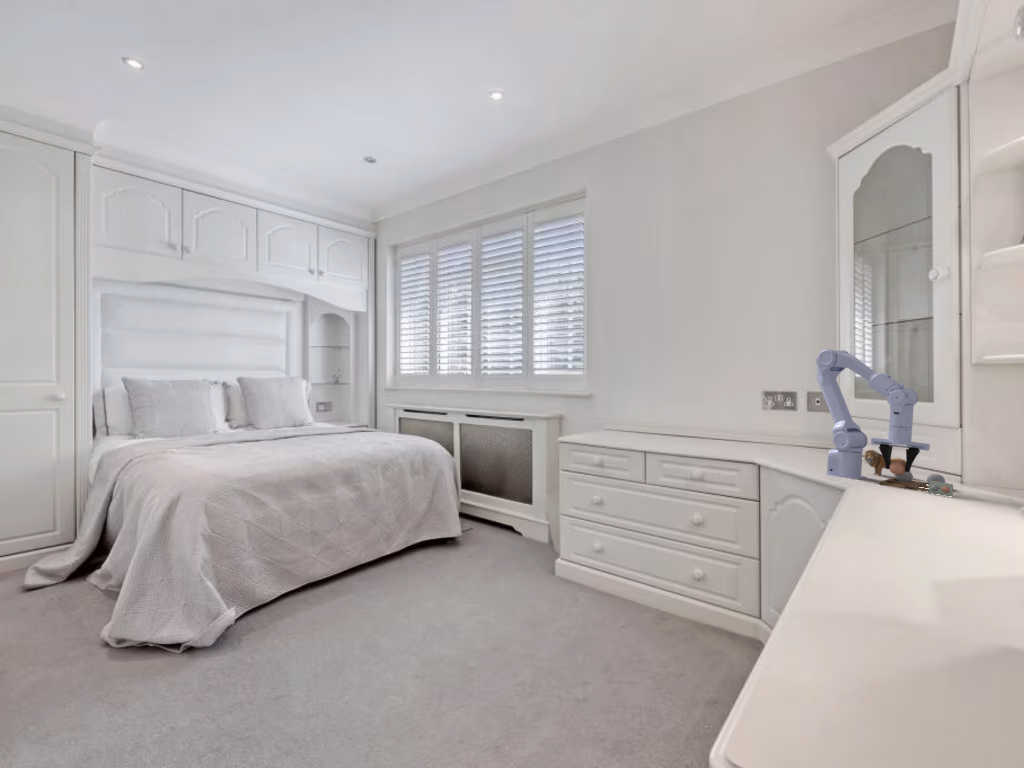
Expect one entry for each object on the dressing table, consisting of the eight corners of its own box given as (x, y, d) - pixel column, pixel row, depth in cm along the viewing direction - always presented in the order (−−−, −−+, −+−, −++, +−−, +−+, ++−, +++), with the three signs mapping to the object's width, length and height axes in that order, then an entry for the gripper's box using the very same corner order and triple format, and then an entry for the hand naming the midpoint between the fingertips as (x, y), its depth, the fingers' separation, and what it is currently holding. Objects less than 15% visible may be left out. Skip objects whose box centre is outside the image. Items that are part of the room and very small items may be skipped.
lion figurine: (865, 475, 177) (867, 450, 177) (860, 473, 182) (862, 448, 182) (916, 480, 172) (918, 453, 172) (910, 477, 177) (911, 451, 177)
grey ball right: (924, 487, 158) (925, 473, 158) (928, 486, 160) (929, 472, 160) (943, 490, 154) (944, 475, 154) (946, 488, 157) (947, 474, 157)
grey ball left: (893, 482, 164) (894, 468, 164) (897, 481, 167) (898, 467, 167) (910, 485, 160) (911, 471, 160) (914, 483, 163) (915, 470, 163)
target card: (928, 494, 148) (929, 480, 148) (928, 494, 149) (929, 480, 148) (951, 498, 144) (952, 484, 144) (952, 498, 145) (952, 483, 144)
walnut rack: (879, 485, 159) (879, 481, 159) (893, 480, 169) (893, 477, 169) (942, 495, 148) (943, 491, 148) (953, 490, 157) (954, 486, 157)
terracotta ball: (886, 474, 159) (887, 460, 159) (891, 473, 162) (891, 459, 162) (904, 476, 156) (904, 462, 156) (908, 475, 159) (908, 461, 159)
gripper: (869, 424, 162) (866, 467, 162) (926, 430, 151) (923, 475, 151) (876, 424, 166) (873, 465, 167) (932, 429, 155) (929, 473, 155)
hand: (897, 470), depth 159 cm, fingers closed on terracotta ball, 4 cm apart
